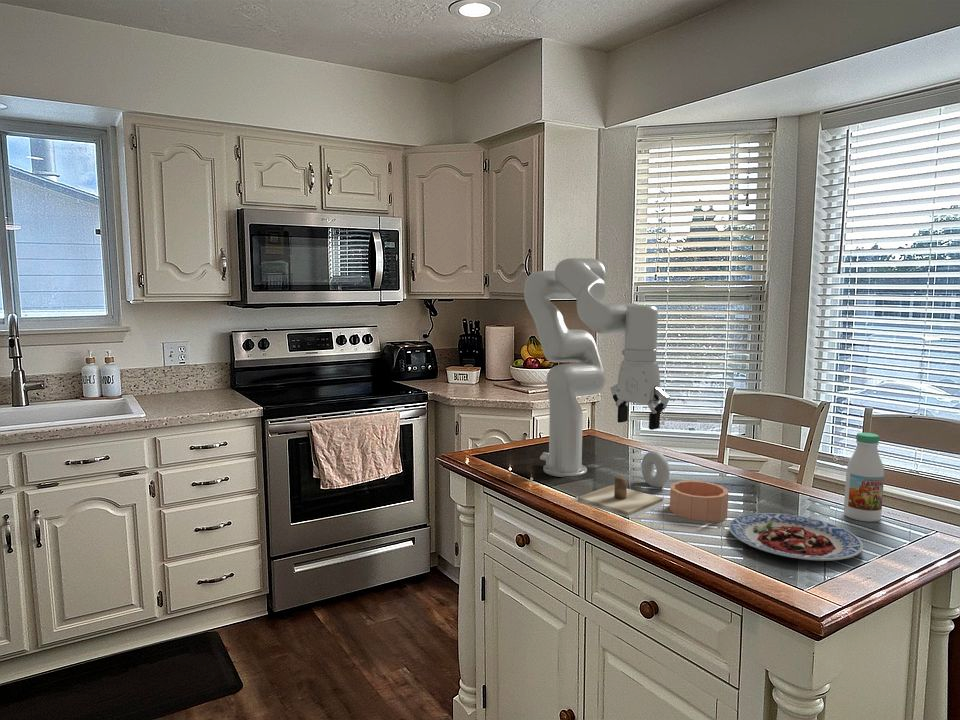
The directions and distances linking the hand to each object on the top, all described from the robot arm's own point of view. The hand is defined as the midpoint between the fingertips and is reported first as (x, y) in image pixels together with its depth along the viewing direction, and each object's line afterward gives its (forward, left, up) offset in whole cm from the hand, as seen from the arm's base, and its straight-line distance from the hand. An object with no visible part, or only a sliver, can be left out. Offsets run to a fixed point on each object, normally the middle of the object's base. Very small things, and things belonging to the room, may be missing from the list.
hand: (637, 425), depth 163 cm
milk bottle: (+42, +31, -20) cm, 56 cm away
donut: (-4, +15, -20) cm, 26 cm away
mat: (-3, -2, -20) cm, 20 cm away
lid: (-3, -2, -20) cm, 20 cm away
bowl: (+14, +5, -20) cm, 25 cm away
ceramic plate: (+37, +3, -21) cm, 42 cm away
